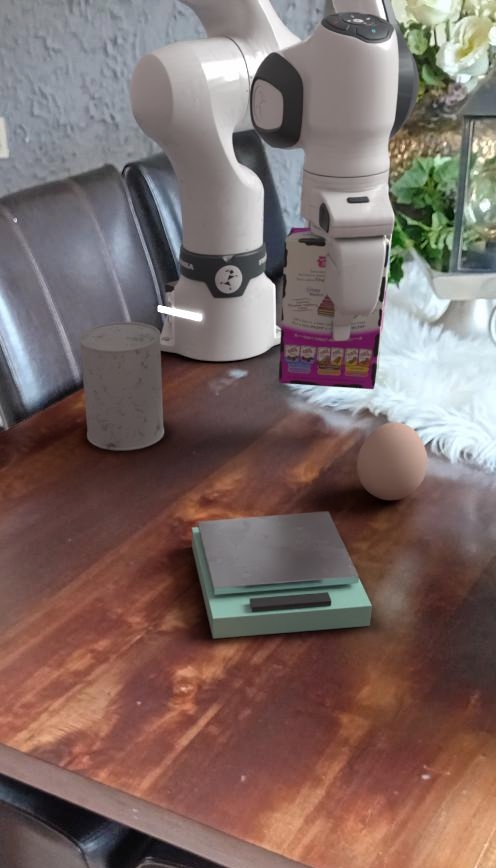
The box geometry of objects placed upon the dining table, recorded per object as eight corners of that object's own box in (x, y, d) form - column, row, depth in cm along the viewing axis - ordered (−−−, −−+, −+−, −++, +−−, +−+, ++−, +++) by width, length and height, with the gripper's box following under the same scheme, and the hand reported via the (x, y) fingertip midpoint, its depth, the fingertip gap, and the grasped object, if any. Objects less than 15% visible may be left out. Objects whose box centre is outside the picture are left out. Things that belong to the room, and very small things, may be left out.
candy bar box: (378, 373, 118) (395, 228, 108) (374, 391, 114) (391, 242, 104) (283, 367, 120) (291, 224, 110) (276, 384, 116) (284, 237, 106)
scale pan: (197, 528, 99) (197, 521, 99) (328, 518, 99) (328, 510, 99) (213, 595, 89) (213, 587, 89) (358, 583, 90) (358, 576, 89)
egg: (429, 511, 105) (439, 437, 100) (360, 514, 105) (366, 440, 100) (414, 480, 110) (423, 408, 105) (349, 482, 111) (355, 411, 106)
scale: (192, 546, 101) (191, 522, 100) (329, 535, 102) (330, 511, 100) (212, 638, 88) (212, 612, 87) (369, 626, 89) (372, 599, 87)
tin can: (116, 458, 118) (109, 356, 111) (72, 432, 125) (63, 335, 118) (179, 434, 123) (177, 335, 116) (133, 411, 129) (128, 316, 122)
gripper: (293, 175, 113) (286, 298, 121) (335, 225, 97) (324, 363, 105) (348, 172, 113) (338, 294, 122) (400, 221, 97) (383, 359, 105)
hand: (332, 327), depth 113 cm, fingers closed on candy bar box, 6 cm apart
